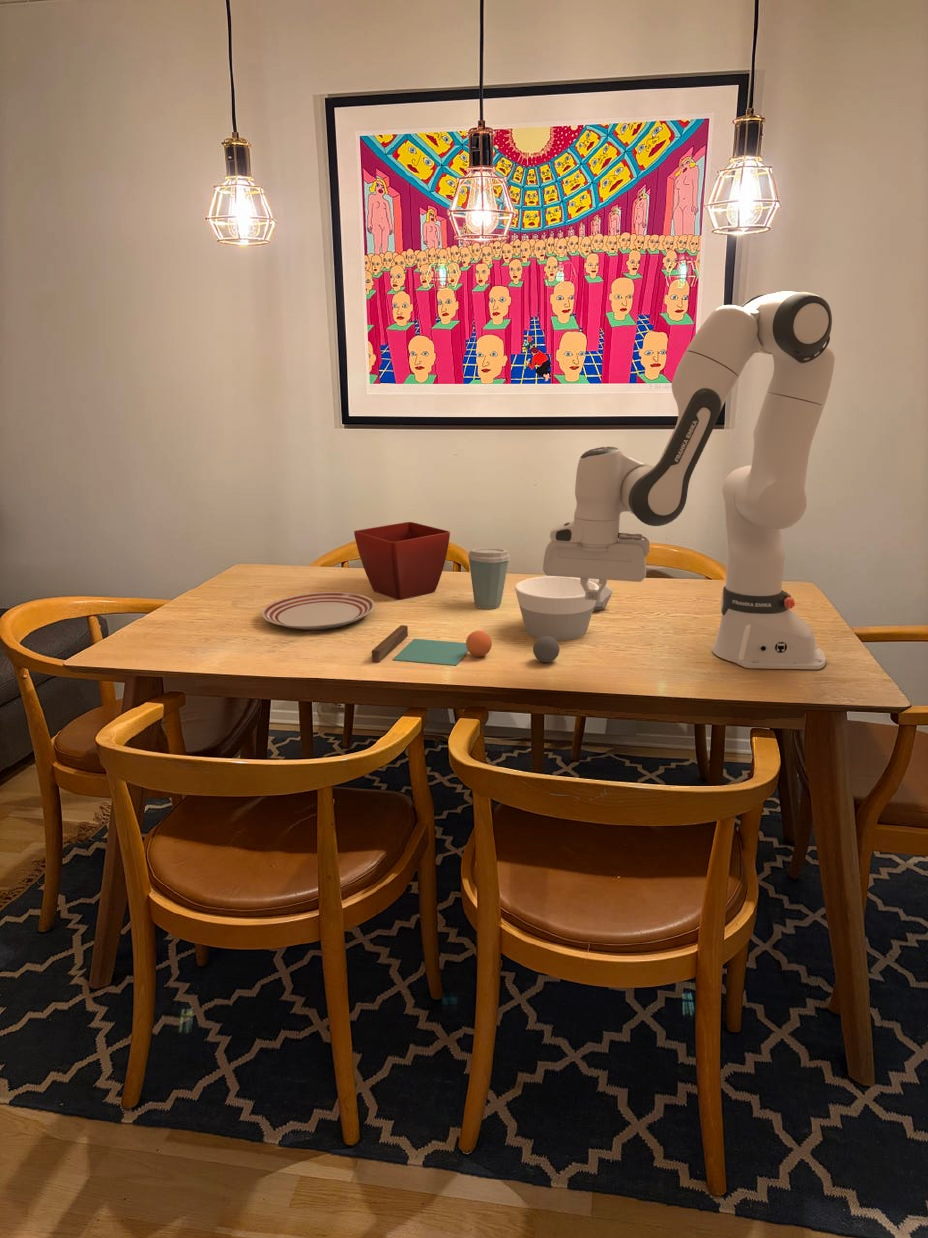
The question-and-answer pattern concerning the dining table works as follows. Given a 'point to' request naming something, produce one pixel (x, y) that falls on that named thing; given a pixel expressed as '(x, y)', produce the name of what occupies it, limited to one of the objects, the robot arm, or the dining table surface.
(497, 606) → the disposable coffee cup
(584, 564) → the robot arm
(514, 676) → the dining table surface
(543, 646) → the ball
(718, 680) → the dining table surface
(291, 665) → the dining table surface
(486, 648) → the ball
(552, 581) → the bowl
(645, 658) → the dining table surface
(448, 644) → the mark
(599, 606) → the die
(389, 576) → the plant pot
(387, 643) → the rail
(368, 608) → the dinner plate
